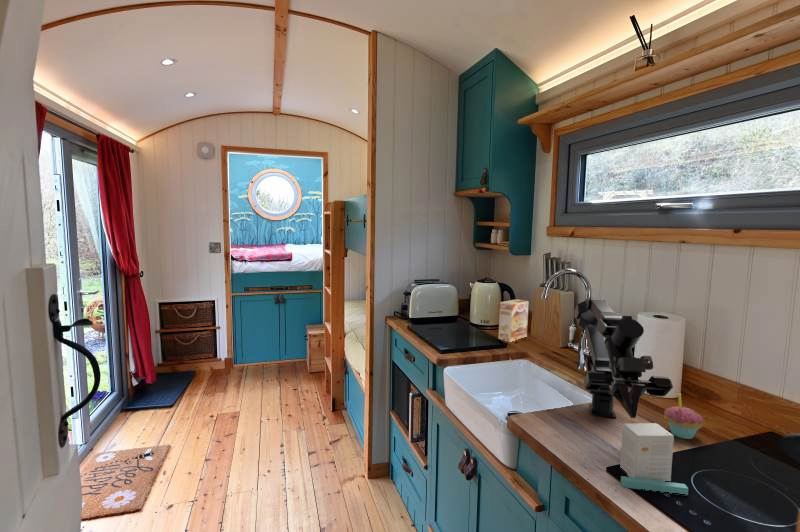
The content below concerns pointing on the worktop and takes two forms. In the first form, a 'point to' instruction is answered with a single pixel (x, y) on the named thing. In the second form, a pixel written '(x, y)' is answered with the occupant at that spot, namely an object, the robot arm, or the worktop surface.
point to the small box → (647, 451)
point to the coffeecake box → (513, 320)
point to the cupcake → (683, 420)
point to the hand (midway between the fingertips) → (633, 417)
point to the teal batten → (654, 485)
